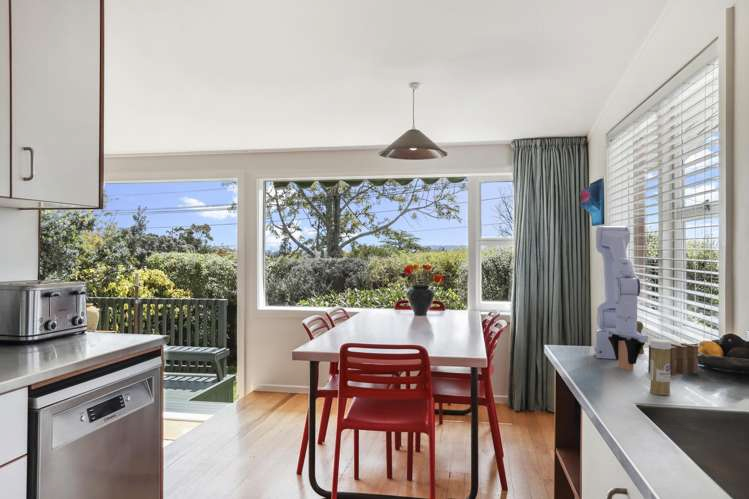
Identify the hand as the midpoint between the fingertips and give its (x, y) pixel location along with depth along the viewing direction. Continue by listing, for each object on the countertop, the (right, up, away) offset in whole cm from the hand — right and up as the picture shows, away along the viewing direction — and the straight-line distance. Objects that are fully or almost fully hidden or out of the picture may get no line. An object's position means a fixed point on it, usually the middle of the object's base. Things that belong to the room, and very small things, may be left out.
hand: (625, 361), depth 152 cm
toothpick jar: (-4, -3, -26) cm, 26 cm away
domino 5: (+18, -2, -3) cm, 18 cm away
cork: (+15, -2, +24) cm, 28 cm away
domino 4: (+14, -2, -4) cm, 14 cm away
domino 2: (+6, -2, -6) cm, 9 cm away
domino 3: (+10, -2, -5) cm, 11 cm away
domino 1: (0, -2, 0) cm, 2 cm away
